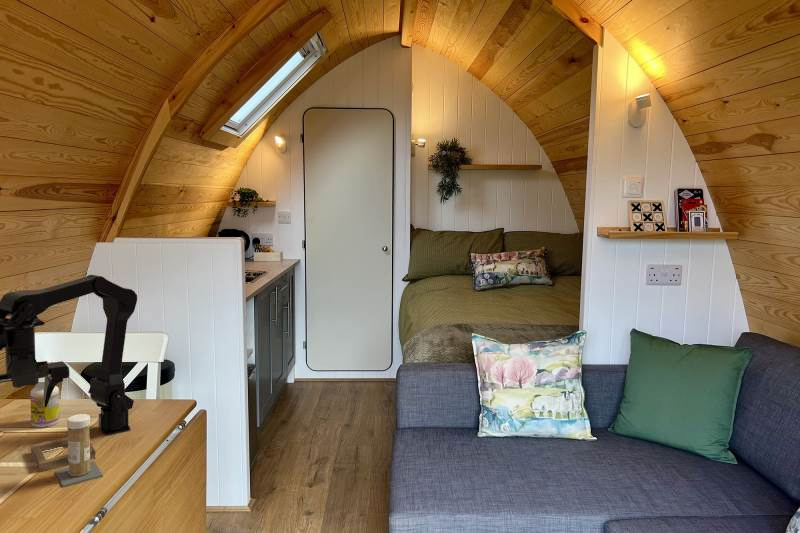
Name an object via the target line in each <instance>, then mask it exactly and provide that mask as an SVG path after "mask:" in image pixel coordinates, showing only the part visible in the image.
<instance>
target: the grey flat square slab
mask: <svg viewBox="0 0 800 533" xmlns="http://www.w3.org/2000/svg"><path fill="white" fill-rule="evenodd" d="M90 468H91V470H90V472H89V473H87V474H85V475H83V476H78V477H75V476H70V475H69V473H68V472H69V467H65V468H61V469H58V470H55V474H56V476H57V478H58V480H59V483H60V484H61V486H62V488H65V487H68V486H73V485H77V484H79V483H80V482H81V483H85V482H87V481H91V479H92V480H96V479H99V478H102V476H103V477H104V474H103V473H102V471H101V470H100V468H99V467H98V465H97V464H96V462H95V461H94V460H93V461H90ZM98 477H99V478H98ZM81 483H80V484H81Z"/></svg>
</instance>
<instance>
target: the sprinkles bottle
mask: <svg viewBox="0 0 800 533" xmlns="http://www.w3.org/2000/svg"><path fill="white" fill-rule="evenodd" d="M66 419H67V420H66V427H67V437H68V447H67V453H68V461H69V465H68V468H69V472H68V473H69V475H70V476H75V477H78V476H83V475H85V474H87V473H89V472H90V470H91V468H90V462H91V459H90V443H91V441H90V440H91V438H90V425H91V416H90V415H89V414H85V413H80V414H74V415H71V416H69V417H68V418H66Z"/></svg>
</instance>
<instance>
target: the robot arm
mask: <svg viewBox="0 0 800 533" xmlns="http://www.w3.org/2000/svg"><path fill="white" fill-rule="evenodd" d="M90 294H94V295H95V296H97V297H98V298H100V299H102V309H103V312H104V314H105V317H106V327H105V334H104V341H103V349H102V357H101V364H100V370H99V373H98V375H97V376H96V377H92V378H90V381H89V389H88V391H87V393H88V394H89V396H90V399H91V400H92V401H93V403H95V405H96V406H97V407H98V408H100V413H99V414H98V429H99V431H101V433H103V435H104V436H109V435H114V434H118V433H121V432H127V431H130V430H131V426H130V425H129V411H130V410H132V409H133V406H134V402H135V401H134V400H133V399H132V398H130V397H129V396H128V395H127V394H126V385H125V381H124V378H123V376H122V373H121V372H122V367H123V366H122V365H123V357H124V348H125V340H126V333H127V326H128V320H129V319H130V318H131V317H132V315H133V314H134V312H135V310H136V306H137V303H138V294H137V293H136V292H135V290H133V289H130V288H126V287H122V286H120V285H118V284H116V283H114V282H112V281H110V280H108V279H106V278H105V277H104V276H101V275H96V274H89V275H86V276H84V277H81V278H80V277H79V278H77V279H74V280H70V281H67V282H64V283H60V284H59V283H58V284H57V285H53V286H49V287H45V288H42V289H41V288H40V289H30V290H29V289H28V290H25V289H24V290H15V291H10V292H7V293H5V294H3V295H2V297H1V298H0V352H1V351H3V350H4V349H5V350H4V351H5V352H4V353H5V355H4V356H5V359H4V360H5V373H0V384H1V383H8V382H11V384H12V387H13V388H15V389H16V388H17V389H19V388H22V387H26V386H35V385H36V384H38V381H39V378H44V377H45V382H44V397H43V402H44V407H47V404H48V402H49V399H50V396H51V394H52V391H53V389H54V388H55V386H57V385H58V384H59V383H62V382H63V381H64V379H68V378H70V367H69V365H67V363H65V362H64V361H63V360H61V361H54V362H53V361H52V362H48V360H42V361H37V358H36V336H35V335H36V334H35V333H36V331H35V329H36V327H39V326H40V327H41V326H44V325H45V324H46V322H45V321H44V320H42V319H40V318H39V317H38V316H39V315H41V314H43V313H44V312H46V311H47V310H48V309H49V308H51V307H53V306H55V305H58V304H62V303H65V302H68V301H71V300H74V299H78V298H81V297H84V296H87V295H90ZM8 317H10V318H8Z"/></svg>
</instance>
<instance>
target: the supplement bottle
mask: <svg viewBox="0 0 800 533" xmlns="http://www.w3.org/2000/svg"><path fill="white" fill-rule="evenodd" d="M44 382H45V377H44V378H39V381H38V384H36V385H34V388H32V389H31V391H30V395H29V396H30V424H31V426H32V427H34V428H47V427H46V426H49V427H51V425H52V426H54V425H56V424H58V423H59V421H60V388H59V387H58V386H57V385H56V386H55V388H54V389H53V391H52V394H51V396H50V399H49V402H48V404H47V407H44V402H43V397H44Z"/></svg>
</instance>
